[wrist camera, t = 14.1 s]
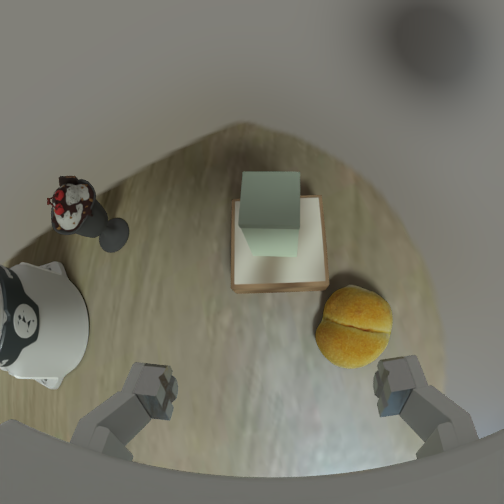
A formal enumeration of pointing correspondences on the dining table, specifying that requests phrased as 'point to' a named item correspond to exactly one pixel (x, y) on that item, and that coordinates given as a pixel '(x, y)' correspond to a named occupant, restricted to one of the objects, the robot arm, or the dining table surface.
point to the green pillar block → (270, 212)
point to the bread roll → (354, 327)
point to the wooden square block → (283, 268)
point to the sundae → (85, 214)
